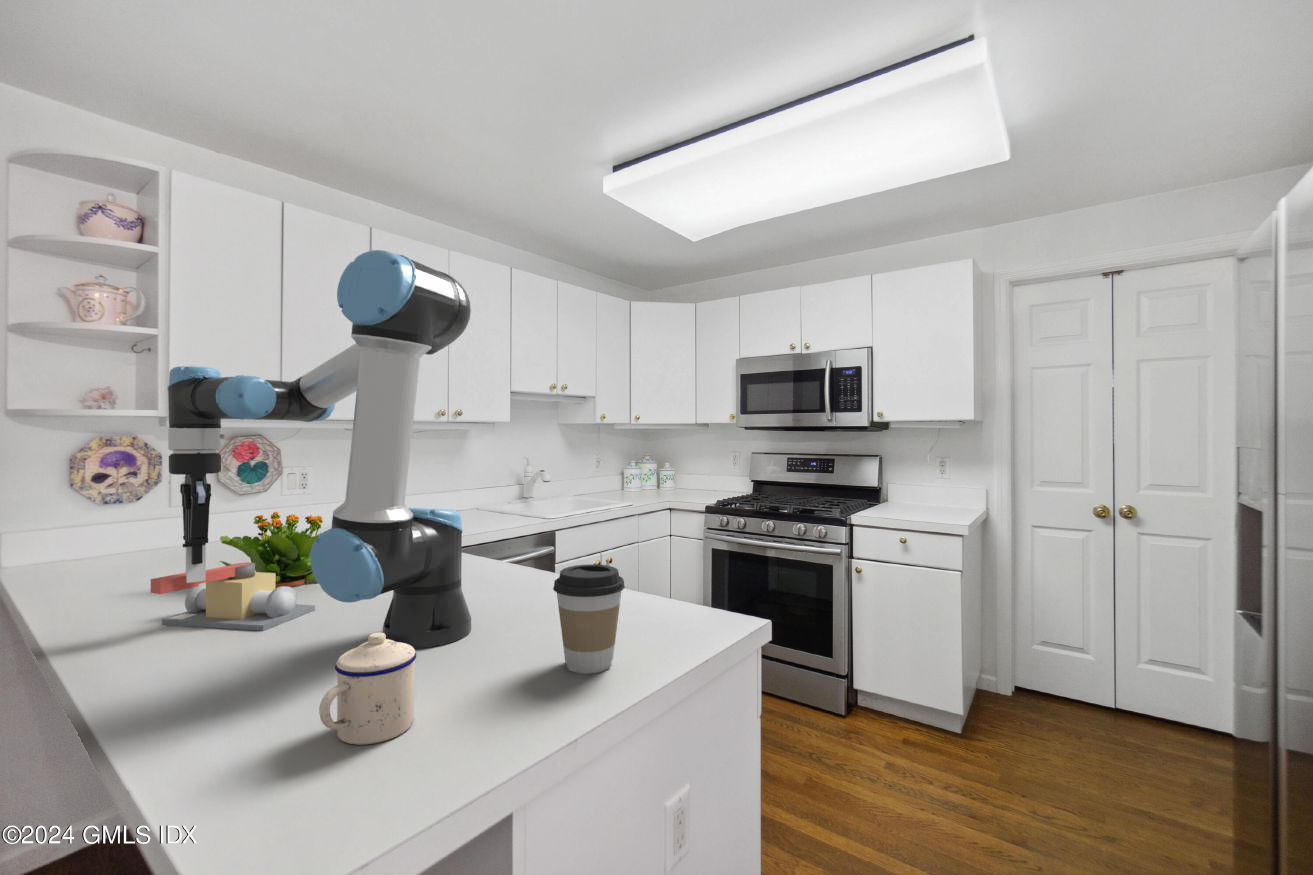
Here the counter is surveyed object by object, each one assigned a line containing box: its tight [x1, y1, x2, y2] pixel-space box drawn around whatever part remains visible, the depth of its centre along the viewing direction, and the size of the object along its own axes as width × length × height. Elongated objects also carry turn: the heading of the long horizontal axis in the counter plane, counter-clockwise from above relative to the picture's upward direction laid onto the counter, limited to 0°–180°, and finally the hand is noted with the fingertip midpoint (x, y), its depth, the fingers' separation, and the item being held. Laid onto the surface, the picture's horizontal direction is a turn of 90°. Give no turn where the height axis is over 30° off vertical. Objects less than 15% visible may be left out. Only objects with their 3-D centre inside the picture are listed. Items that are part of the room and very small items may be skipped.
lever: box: [150, 562, 256, 595], centre depth 110 cm, size 17×4×3 cm, turn 157°
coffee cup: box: [552, 563, 626, 675], centre depth 92 cm, size 11×11×15 cm
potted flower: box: [219, 511, 324, 588], centre depth 141 cm, size 25×24×18 cm
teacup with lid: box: [318, 632, 417, 746], centre depth 71 cm, size 12×9×12 cm
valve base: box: [161, 571, 316, 632], centre depth 116 cm, size 22×13×8 cm, turn 81°
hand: (195, 581), depth 106 cm, fingers closed
